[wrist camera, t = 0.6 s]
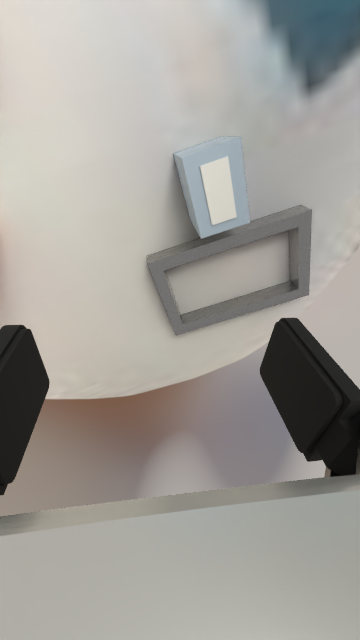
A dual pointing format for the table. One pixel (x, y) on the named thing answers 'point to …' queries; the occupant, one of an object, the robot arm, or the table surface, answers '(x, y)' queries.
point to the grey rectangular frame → (279, 222)
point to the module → (214, 185)
